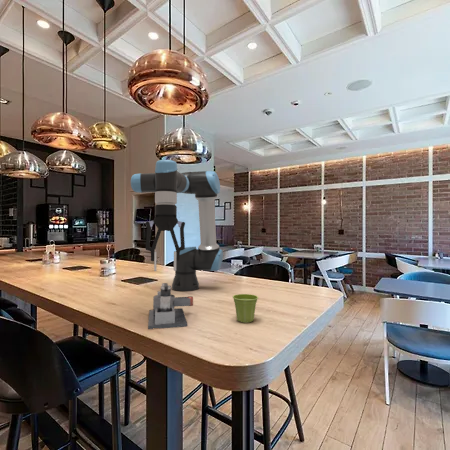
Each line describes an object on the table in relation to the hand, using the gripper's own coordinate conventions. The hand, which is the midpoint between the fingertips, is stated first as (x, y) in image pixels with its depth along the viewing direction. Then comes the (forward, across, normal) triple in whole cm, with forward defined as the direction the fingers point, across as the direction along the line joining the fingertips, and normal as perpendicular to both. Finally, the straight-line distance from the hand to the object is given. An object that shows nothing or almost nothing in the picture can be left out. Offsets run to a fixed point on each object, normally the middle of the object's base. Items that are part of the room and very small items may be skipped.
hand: (165, 270), depth 98 cm
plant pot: (+19, -29, +2) cm, 35 cm away
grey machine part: (+18, -4, -10) cm, 21 cm away
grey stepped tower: (+18, 0, 0) cm, 18 cm away
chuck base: (+19, -1, -6) cm, 20 cm away
